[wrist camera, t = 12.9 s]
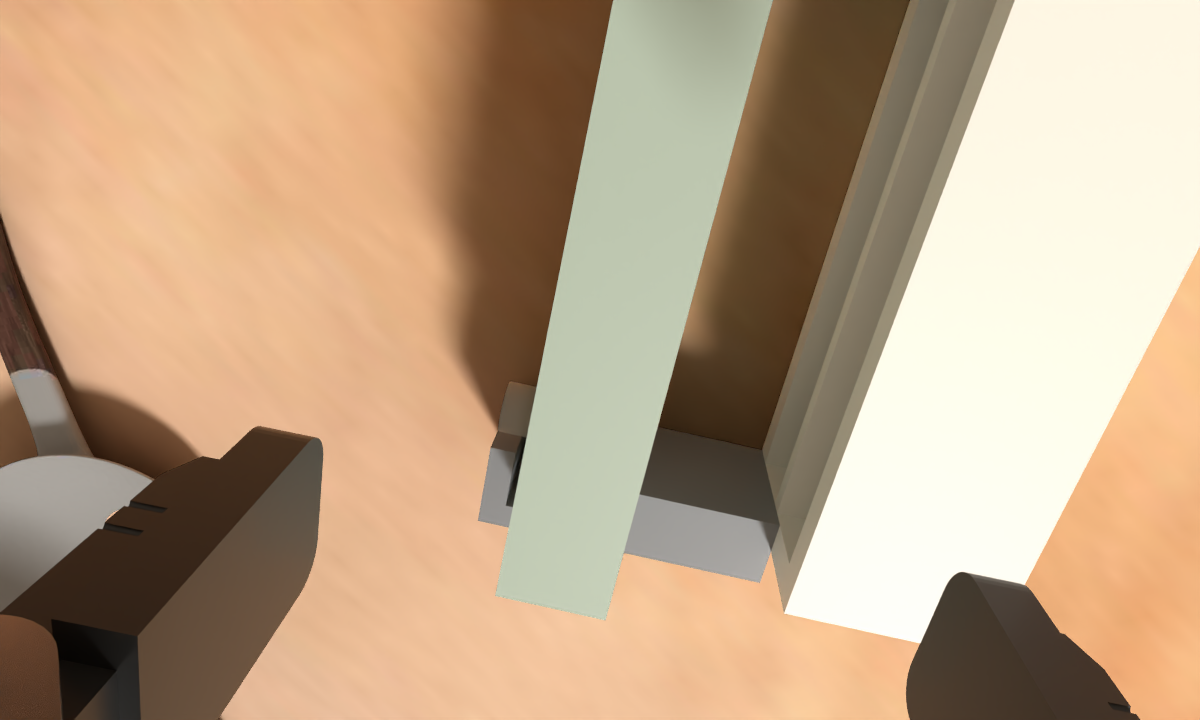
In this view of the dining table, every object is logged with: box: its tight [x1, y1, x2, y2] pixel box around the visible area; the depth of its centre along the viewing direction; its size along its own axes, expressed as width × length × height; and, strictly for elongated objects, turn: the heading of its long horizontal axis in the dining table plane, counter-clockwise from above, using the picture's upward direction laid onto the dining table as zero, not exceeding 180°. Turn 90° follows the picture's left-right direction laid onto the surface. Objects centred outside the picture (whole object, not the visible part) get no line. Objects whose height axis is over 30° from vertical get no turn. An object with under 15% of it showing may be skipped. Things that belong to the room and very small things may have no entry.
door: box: [495, 0, 773, 620], centre depth 22 cm, size 4×20×10 cm, turn 168°
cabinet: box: [478, 0, 1200, 643], centre depth 22 cm, size 16×23×8 cm
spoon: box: [0, 223, 155, 612], centre depth 29 cm, size 11×33×3 cm, turn 9°
